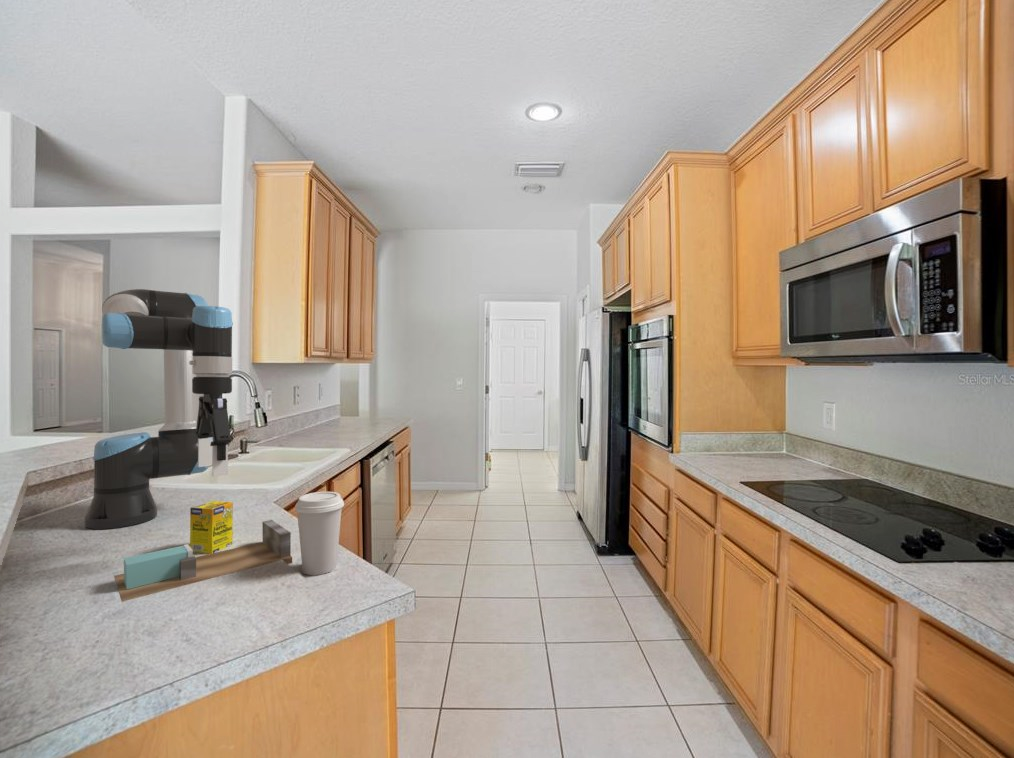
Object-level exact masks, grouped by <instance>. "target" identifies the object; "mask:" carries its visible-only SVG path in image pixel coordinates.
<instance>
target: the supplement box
mask: <svg viewBox="0 0 1014 758" xmlns="http://www.w3.org/2000/svg"><path fill="white" fill-rule="evenodd" d="M233 504H234V503H233V501H223V500H222V501H218V500H210V501H209V502H205V503H204V502H203V503H202V504H199V505H198V504H197V505H195V506H191V507H190V509H189V515H190V516H189V519H190V520H189V522H190V523H189V530H190V531H189V534H190V535H189V536H190V537H189V546H190V547H191V549H192V550H193V553H201V554H212V553H216V552H220V550H221V551H222V550H223V549H225V548H228V547H230V546H232V545H233V541H234V540H233V532H234V531H233V528H234V527H233V523H234V521H233V520H234V518H233V517H234V515H233V511H234V510H233V508H234V507H233Z"/></svg>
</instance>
